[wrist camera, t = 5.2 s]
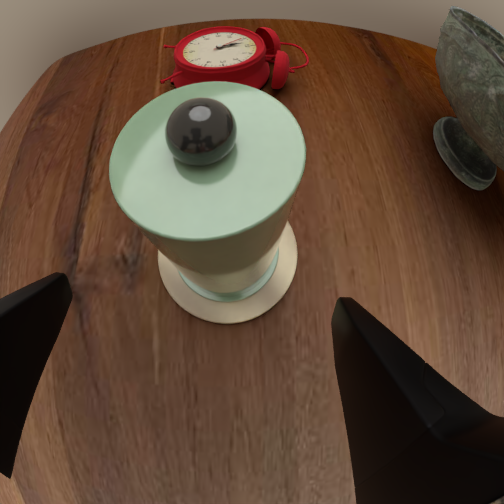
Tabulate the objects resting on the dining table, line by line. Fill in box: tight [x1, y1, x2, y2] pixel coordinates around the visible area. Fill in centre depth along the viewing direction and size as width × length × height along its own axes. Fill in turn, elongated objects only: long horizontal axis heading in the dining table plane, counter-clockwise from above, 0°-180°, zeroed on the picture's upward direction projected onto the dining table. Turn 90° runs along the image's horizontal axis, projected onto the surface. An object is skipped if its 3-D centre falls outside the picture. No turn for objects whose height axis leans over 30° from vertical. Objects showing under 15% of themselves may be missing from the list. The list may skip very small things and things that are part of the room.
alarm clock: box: [160, 26, 309, 89], centre depth 25 cm, size 10×6×15 cm
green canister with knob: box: [109, 81, 306, 303], centre depth 14 cm, size 7×7×14 cm
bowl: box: [433, 6, 504, 190], centre depth 18 cm, size 20×19×15 cm
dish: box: [158, 220, 298, 324], centre depth 21 cm, size 10×10×1 cm
